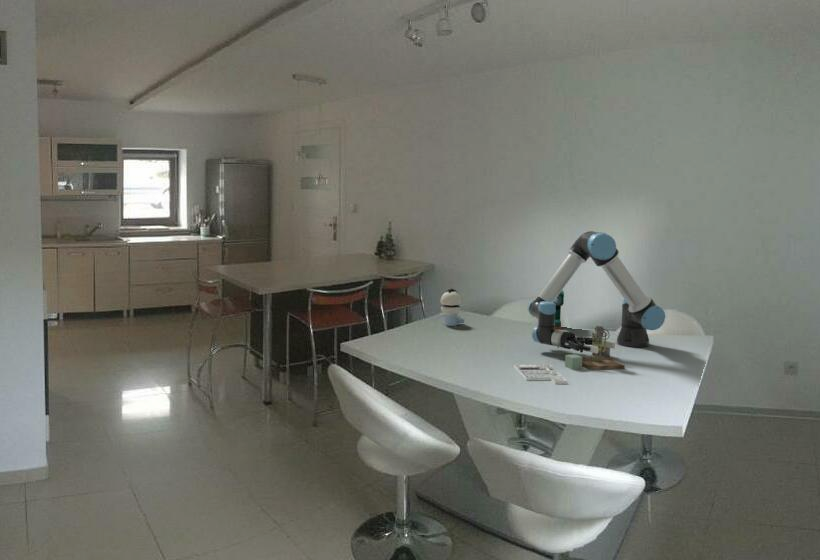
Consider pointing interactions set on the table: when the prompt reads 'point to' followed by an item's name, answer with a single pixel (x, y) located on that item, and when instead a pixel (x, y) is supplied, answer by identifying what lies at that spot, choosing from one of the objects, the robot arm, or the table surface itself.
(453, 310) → the toy
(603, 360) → the walnut board
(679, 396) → the table surface
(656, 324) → the robot arm
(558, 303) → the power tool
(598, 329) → the grenade
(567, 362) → the green block
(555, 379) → the floor plan model
